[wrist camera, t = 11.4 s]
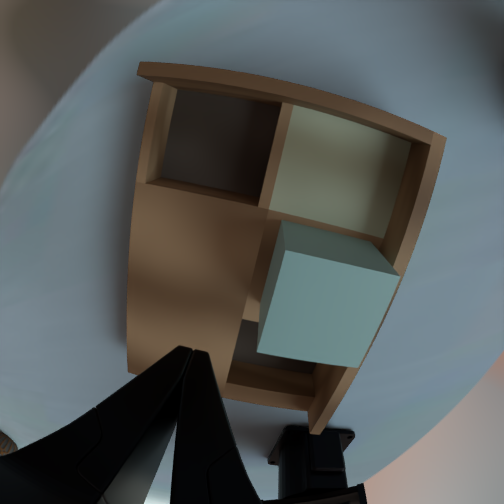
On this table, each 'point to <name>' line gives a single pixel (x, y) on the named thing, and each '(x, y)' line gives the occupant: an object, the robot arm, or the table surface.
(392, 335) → the table surface
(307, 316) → the block
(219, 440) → the robot arm
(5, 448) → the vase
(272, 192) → the box
